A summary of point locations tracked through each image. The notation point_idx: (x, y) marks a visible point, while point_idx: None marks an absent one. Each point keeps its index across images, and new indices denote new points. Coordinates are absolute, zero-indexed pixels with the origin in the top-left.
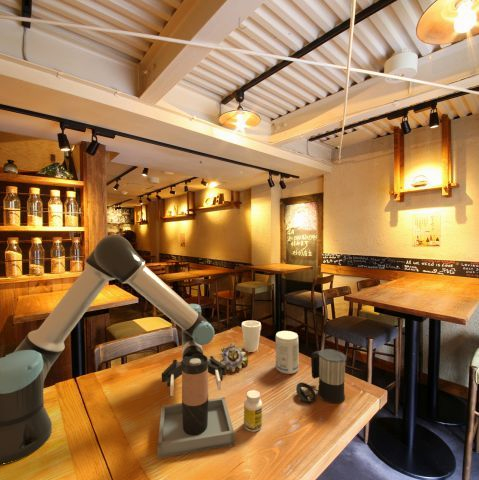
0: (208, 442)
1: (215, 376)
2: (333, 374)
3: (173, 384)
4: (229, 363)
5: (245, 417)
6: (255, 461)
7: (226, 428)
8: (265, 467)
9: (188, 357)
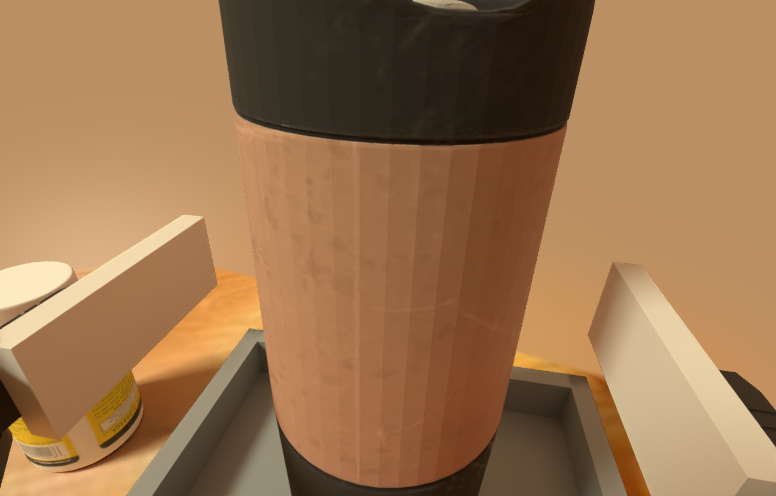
0: None
1: (57, 413)
2: None
3: (643, 411)
4: None
5: (123, 380)
6: (242, 307)
7: (230, 430)
8: (233, 289)
9: (496, 13)
